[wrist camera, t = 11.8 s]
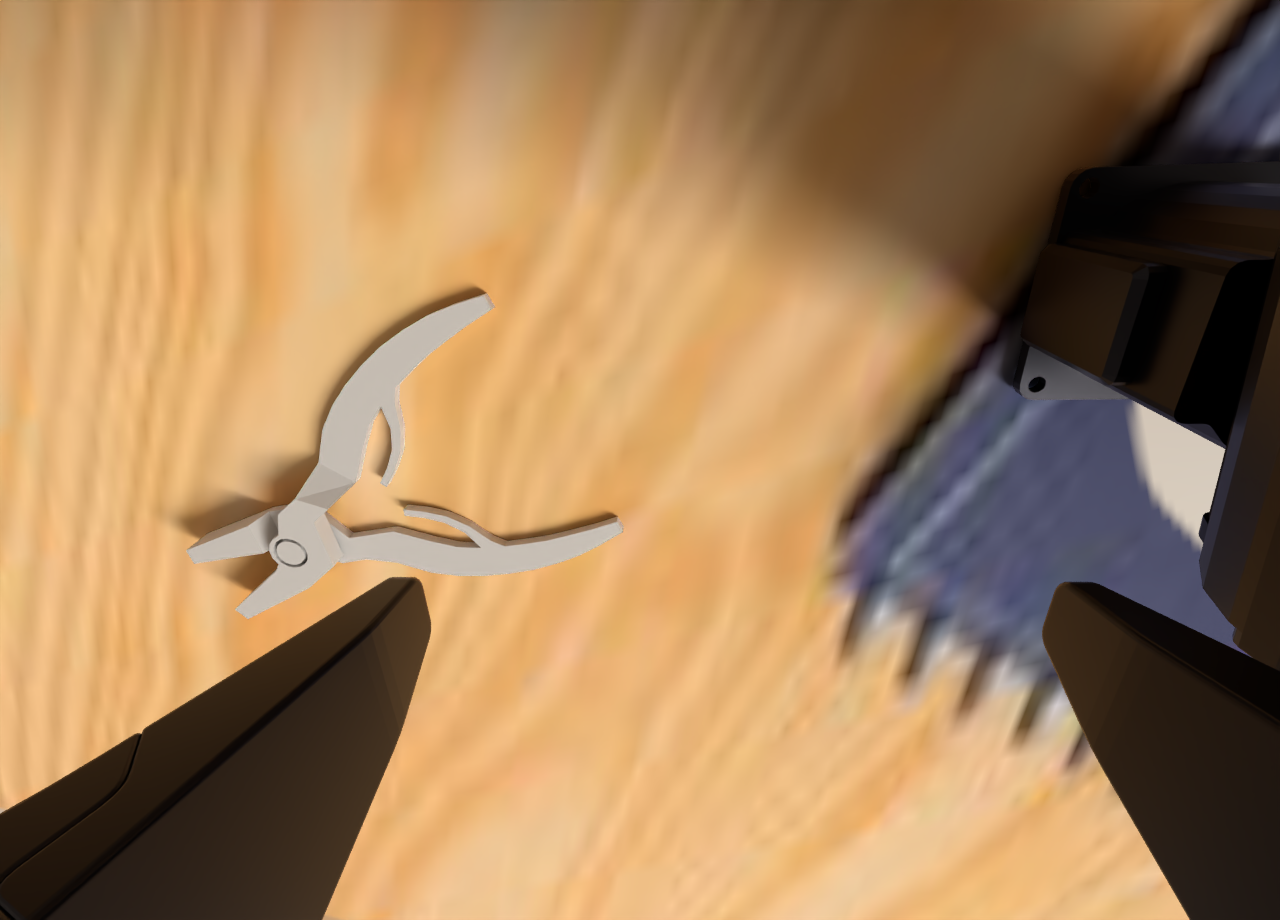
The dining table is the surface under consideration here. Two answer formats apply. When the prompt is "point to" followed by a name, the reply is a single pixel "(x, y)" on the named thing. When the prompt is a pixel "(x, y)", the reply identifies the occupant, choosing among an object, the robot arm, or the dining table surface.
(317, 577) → the pliers
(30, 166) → the dining table surface
